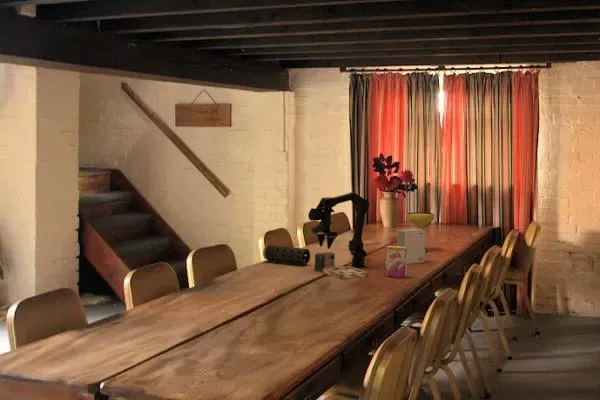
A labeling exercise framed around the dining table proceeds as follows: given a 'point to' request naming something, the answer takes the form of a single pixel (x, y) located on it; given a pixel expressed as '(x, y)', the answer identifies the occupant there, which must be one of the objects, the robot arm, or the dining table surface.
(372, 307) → the dining table surface
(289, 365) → the dining table surface
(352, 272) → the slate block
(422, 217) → the cocktail glass
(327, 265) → the camera
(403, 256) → the candy bar box
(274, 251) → the muzzle brake
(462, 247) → the dining table surface
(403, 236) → the hard drive box
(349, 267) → the slot rack
